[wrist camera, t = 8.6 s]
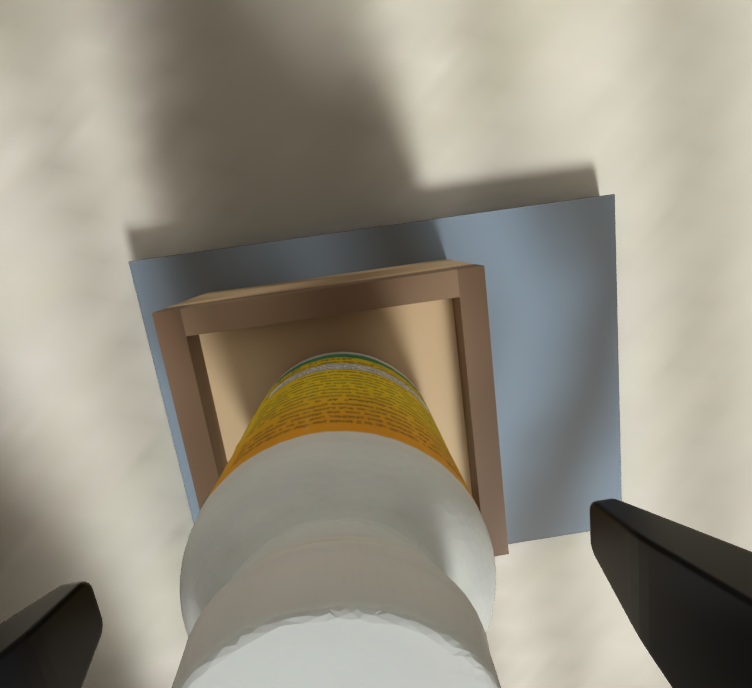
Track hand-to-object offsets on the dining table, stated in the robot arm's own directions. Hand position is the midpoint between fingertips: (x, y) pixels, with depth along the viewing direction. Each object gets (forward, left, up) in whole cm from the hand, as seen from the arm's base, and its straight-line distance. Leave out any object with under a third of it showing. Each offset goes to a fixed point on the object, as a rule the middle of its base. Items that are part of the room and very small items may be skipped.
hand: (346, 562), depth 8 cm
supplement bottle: (0, 0, -7) cm, 7 cm away
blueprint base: (+2, -1, -11) cm, 12 cm away
